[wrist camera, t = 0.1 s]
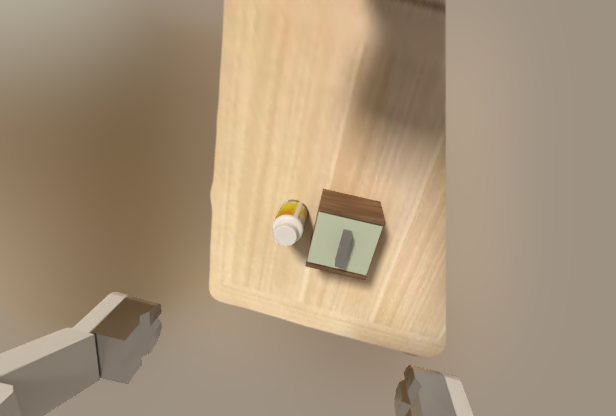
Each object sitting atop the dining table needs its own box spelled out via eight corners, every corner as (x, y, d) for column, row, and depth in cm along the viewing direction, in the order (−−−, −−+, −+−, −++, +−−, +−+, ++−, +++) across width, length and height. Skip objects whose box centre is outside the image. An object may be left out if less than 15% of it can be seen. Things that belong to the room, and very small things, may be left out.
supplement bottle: (275, 213, 62) (262, 238, 53) (291, 192, 60) (280, 215, 51) (297, 229, 63) (289, 256, 54) (314, 209, 61) (308, 234, 51)
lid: (319, 210, 52) (317, 218, 49) (382, 225, 52) (384, 234, 49) (307, 259, 56) (305, 269, 53) (366, 273, 56) (366, 284, 53)
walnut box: (323, 188, 59) (319, 206, 51) (380, 201, 58) (385, 222, 51) (310, 242, 64) (305, 266, 56) (363, 254, 63) (365, 280, 56)
